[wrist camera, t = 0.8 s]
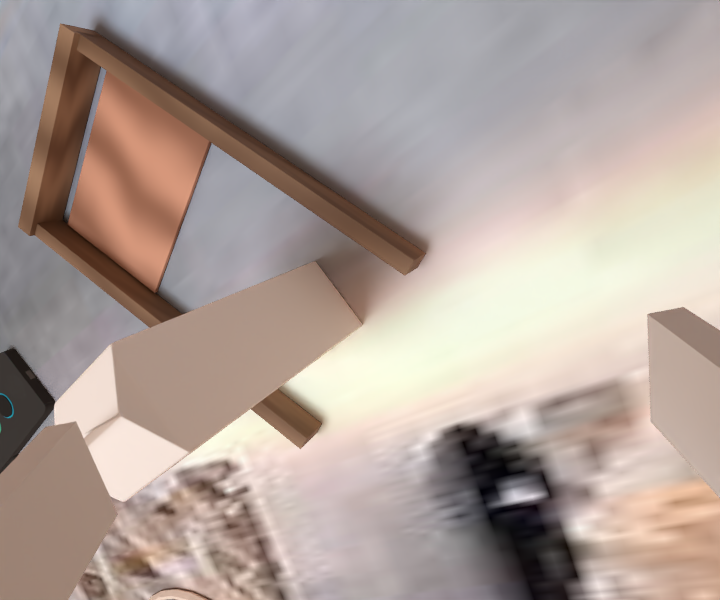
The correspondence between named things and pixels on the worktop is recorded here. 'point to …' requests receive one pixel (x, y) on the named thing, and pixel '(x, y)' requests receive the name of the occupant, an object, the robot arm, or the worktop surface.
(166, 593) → the hand towel holder
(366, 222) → the bay
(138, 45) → the worktop surface
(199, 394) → the milk
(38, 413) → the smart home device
